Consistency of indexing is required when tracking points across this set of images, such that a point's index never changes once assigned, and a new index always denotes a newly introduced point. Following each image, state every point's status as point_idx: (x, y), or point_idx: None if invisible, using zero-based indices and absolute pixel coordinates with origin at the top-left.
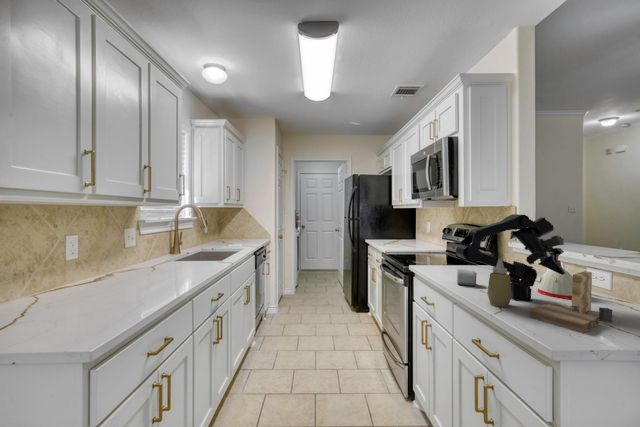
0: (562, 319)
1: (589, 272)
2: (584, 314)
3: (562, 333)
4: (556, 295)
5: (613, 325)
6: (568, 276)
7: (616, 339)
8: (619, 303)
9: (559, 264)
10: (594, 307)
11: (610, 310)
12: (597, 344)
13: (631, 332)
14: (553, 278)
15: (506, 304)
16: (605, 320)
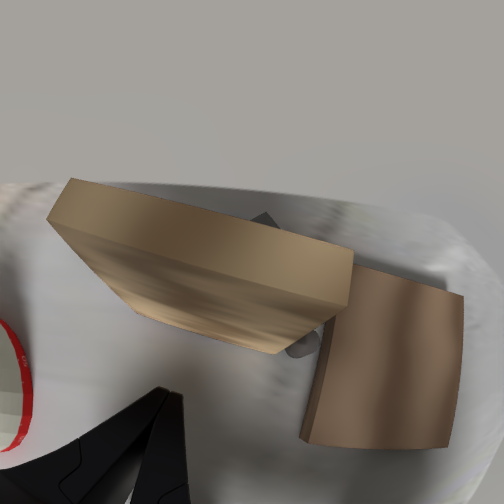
0: (462, 348)
1: (91, 189)
2: (354, 302)
3: (480, 340)
4: (26, 398)
5: None
6: None
7: (421, 240)
8: (5, 211)
9: (97, 453)
10: (85, 277)
11: (270, 218)
12: (478, 274)
13: (330, 204)
14: None
15: None
16: None
